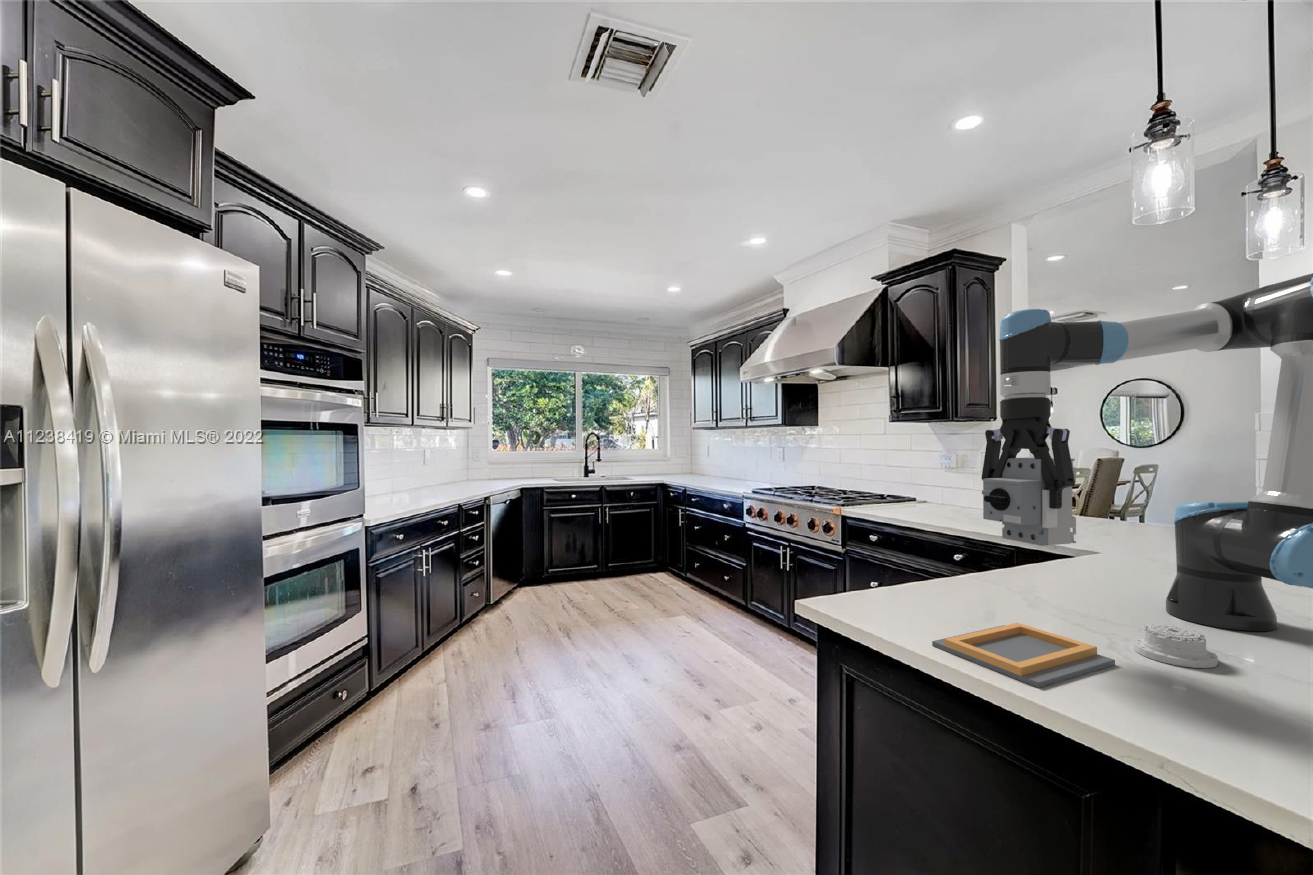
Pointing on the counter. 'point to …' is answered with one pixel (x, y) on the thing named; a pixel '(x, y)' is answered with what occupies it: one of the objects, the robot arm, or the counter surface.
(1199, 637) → the mechanical component
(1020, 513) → the circuit breaker
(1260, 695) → the counter surface
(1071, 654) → the base
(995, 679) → the counter surface
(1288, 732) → the counter surface
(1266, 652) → the counter surface
